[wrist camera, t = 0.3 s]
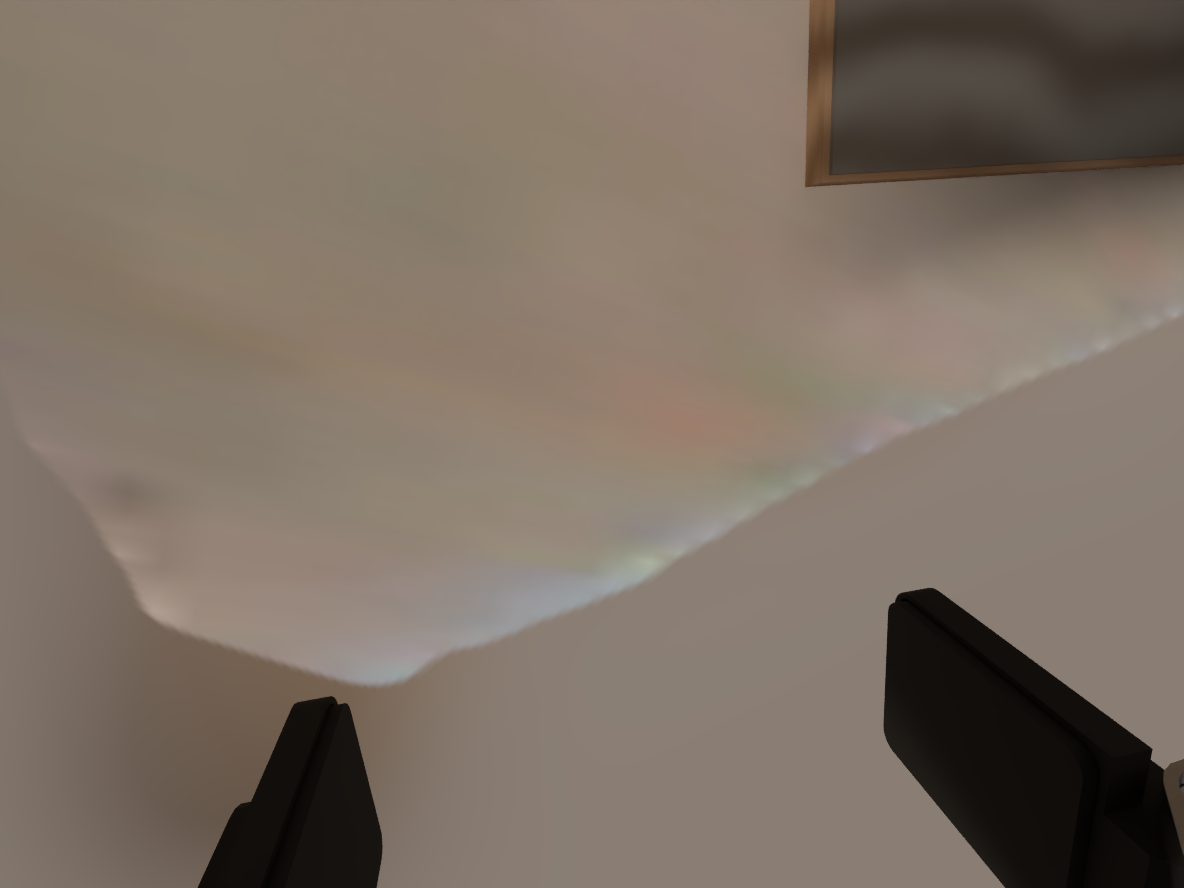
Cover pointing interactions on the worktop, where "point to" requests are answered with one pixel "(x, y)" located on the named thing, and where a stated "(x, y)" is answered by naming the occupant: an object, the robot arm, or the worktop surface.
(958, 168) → the brown wooden board
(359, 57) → the worktop surface
